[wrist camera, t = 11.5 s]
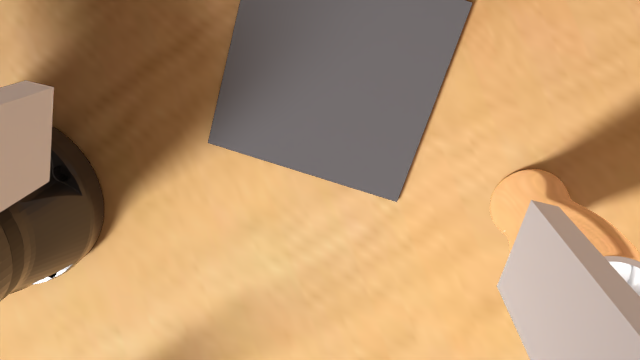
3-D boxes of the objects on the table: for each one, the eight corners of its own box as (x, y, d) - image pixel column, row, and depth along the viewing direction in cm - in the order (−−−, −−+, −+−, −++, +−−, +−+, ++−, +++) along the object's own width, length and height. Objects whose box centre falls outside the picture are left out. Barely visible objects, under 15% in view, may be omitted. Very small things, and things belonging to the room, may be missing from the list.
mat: (209, 141, 44) (207, 142, 43) (256, -66, 38) (255, -67, 38) (396, 200, 44) (396, 201, 43) (471, 2, 38) (472, 2, 38)
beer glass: (512, 148, 41) (583, 232, 27) (591, 185, 42) (702, 286, 28) (467, 222, 44) (511, 333, 30) (543, 256, 44) (621, 382, 30)
